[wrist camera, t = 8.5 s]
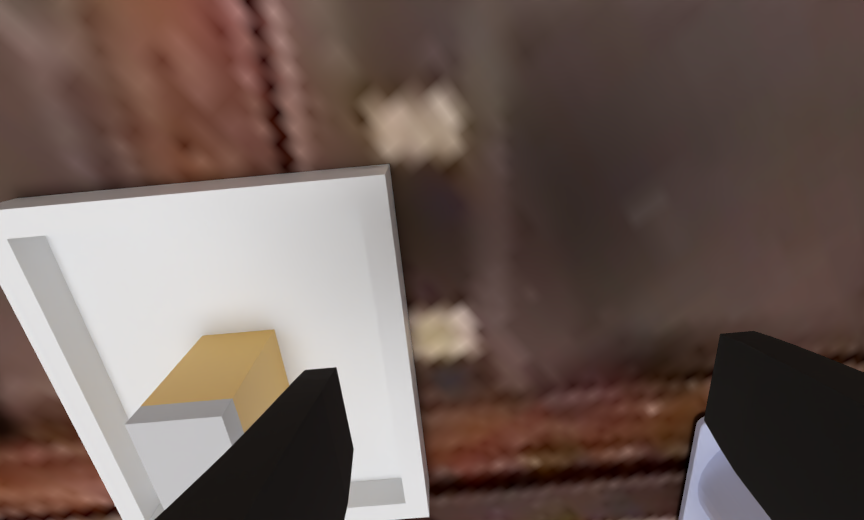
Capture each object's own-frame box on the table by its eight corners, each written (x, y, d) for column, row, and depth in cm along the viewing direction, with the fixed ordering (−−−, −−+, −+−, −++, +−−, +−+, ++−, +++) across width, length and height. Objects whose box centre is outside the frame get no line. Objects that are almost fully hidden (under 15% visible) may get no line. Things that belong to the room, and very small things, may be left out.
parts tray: (389, 163, 16) (384, 174, 14) (428, 480, 22) (429, 516, 20) (15, 198, 16) (-37, 213, 14) (157, 501, 22) (133, 540, 20)
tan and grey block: (274, 329, 18) (221, 416, 13) (297, 415, 19) (257, 518, 15) (202, 335, 18) (124, 424, 13) (231, 420, 19) (171, 526, 15)
